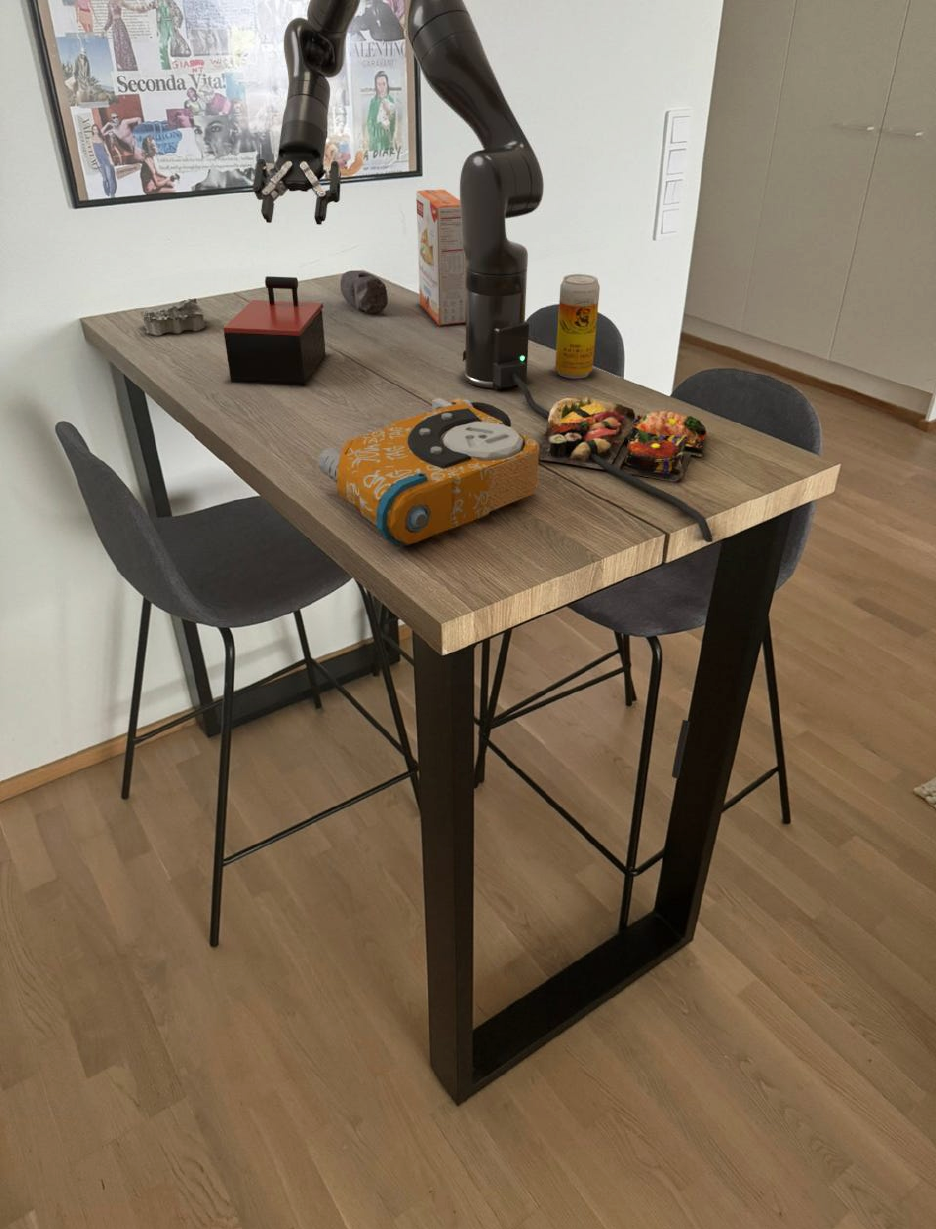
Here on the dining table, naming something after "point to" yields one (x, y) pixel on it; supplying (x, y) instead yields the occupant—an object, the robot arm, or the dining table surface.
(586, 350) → the beer can
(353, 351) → the dining table surface
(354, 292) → the perforated stone tool
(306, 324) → the lid
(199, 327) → the egg carton
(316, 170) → the robot arm
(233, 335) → the black open box
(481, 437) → the device
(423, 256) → the cracker box
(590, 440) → the food
